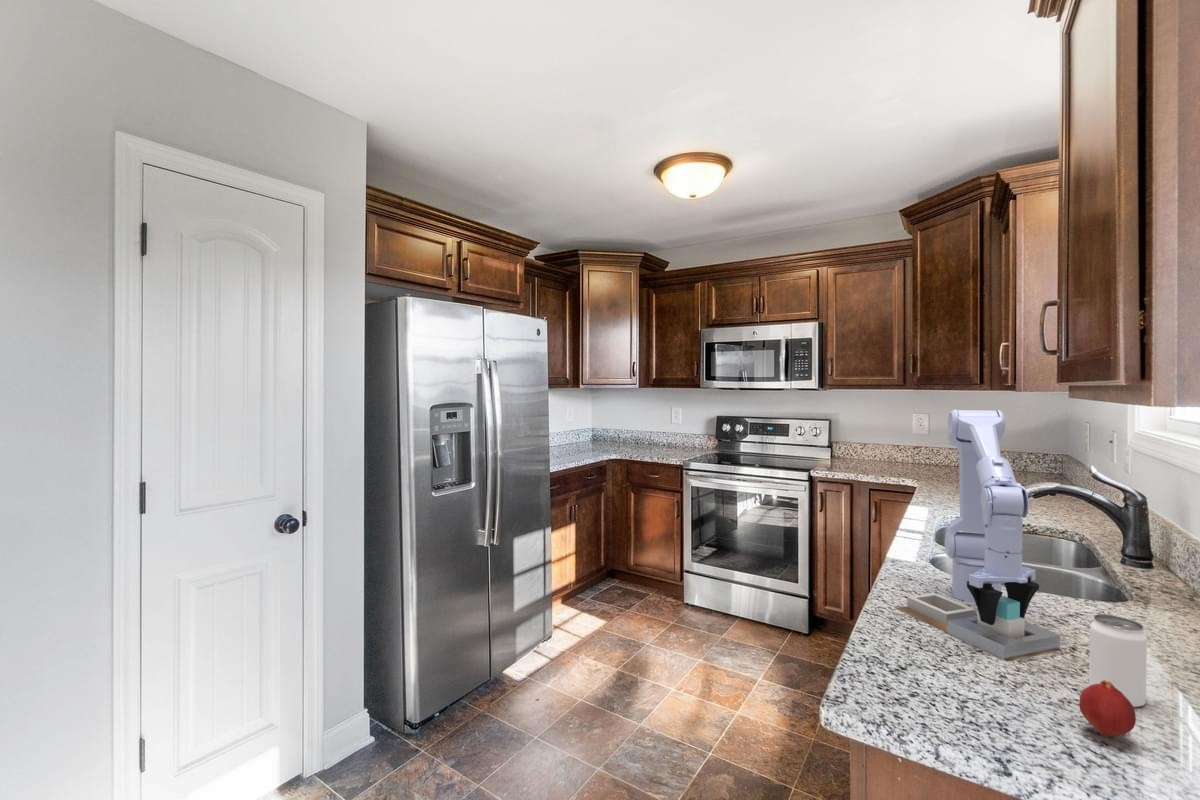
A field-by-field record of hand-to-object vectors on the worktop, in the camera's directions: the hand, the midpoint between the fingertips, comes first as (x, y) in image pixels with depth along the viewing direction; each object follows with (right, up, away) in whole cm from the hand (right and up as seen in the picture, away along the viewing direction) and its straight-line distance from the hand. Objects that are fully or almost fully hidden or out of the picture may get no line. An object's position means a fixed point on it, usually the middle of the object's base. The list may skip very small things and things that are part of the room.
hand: (1002, 620), depth 102 cm
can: (+5, -5, -17) cm, 19 cm away
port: (0, -5, 0) cm, 5 cm away
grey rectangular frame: (-4, -5, +13) cm, 14 cm away
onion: (-5, -5, -27) cm, 28 cm away
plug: (0, -4, 0) cm, 4 cm away
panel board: (-2, -5, +6) cm, 8 cm away
